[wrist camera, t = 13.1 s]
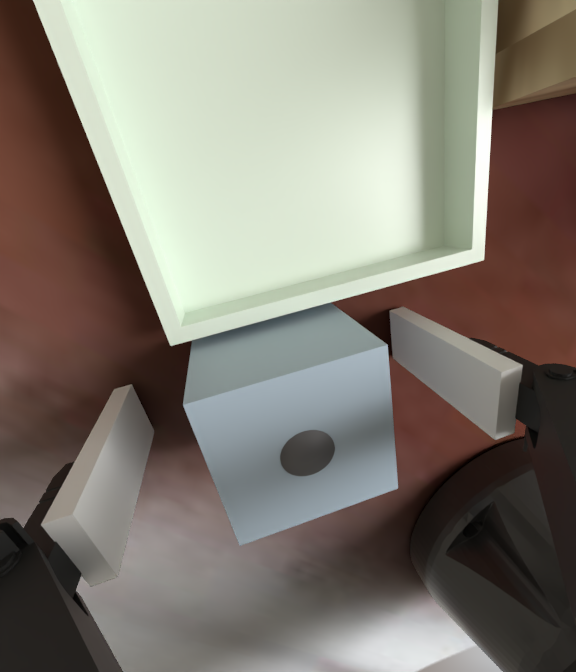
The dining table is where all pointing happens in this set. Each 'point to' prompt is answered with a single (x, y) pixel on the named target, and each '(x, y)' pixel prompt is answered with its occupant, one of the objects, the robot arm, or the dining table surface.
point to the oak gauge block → (534, 51)
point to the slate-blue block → (292, 418)
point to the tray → (283, 144)
